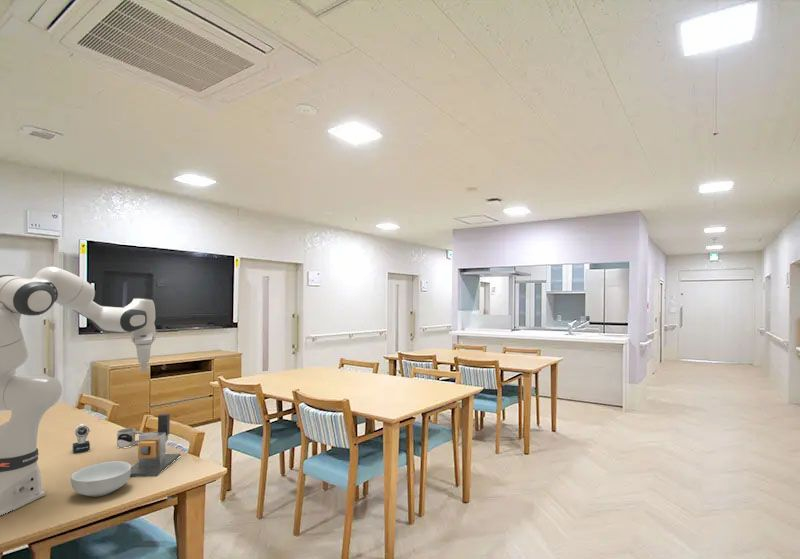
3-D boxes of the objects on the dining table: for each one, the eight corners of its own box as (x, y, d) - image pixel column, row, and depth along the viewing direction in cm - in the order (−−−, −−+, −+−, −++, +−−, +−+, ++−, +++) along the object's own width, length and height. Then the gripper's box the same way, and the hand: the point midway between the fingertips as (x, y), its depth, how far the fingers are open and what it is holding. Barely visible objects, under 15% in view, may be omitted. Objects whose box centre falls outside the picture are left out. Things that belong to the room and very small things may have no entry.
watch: (74, 454, 186) (74, 427, 187) (72, 449, 192) (72, 423, 193) (90, 451, 190) (91, 425, 190) (88, 446, 196) (88, 421, 196)
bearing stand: (156, 476, 164) (156, 441, 164) (122, 477, 163) (122, 441, 164) (180, 456, 184) (181, 425, 184) (150, 457, 183) (151, 425, 184)
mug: (115, 449, 193) (115, 433, 193) (119, 444, 199) (119, 429, 200) (141, 446, 196) (141, 431, 196) (145, 442, 202) (145, 426, 203)
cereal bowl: (56, 501, 144) (57, 478, 145) (98, 480, 161) (98, 459, 161) (105, 504, 142) (105, 481, 142) (142, 482, 159) (142, 462, 159)
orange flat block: (153, 458, 168) (153, 442, 169) (138, 458, 168) (138, 443, 168) (156, 456, 170) (156, 441, 171) (141, 456, 170) (141, 441, 170)
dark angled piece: (148, 454, 167) (149, 425, 167) (138, 454, 167) (139, 425, 167) (169, 440, 183) (169, 414, 183) (160, 440, 183) (160, 414, 183)
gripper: (135, 333, 197) (135, 364, 197) (134, 341, 179) (134, 375, 180) (151, 332, 200) (152, 363, 201) (152, 340, 182) (152, 374, 183)
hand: (143, 369), depth 190 cm, fingers open, 8 cm apart
